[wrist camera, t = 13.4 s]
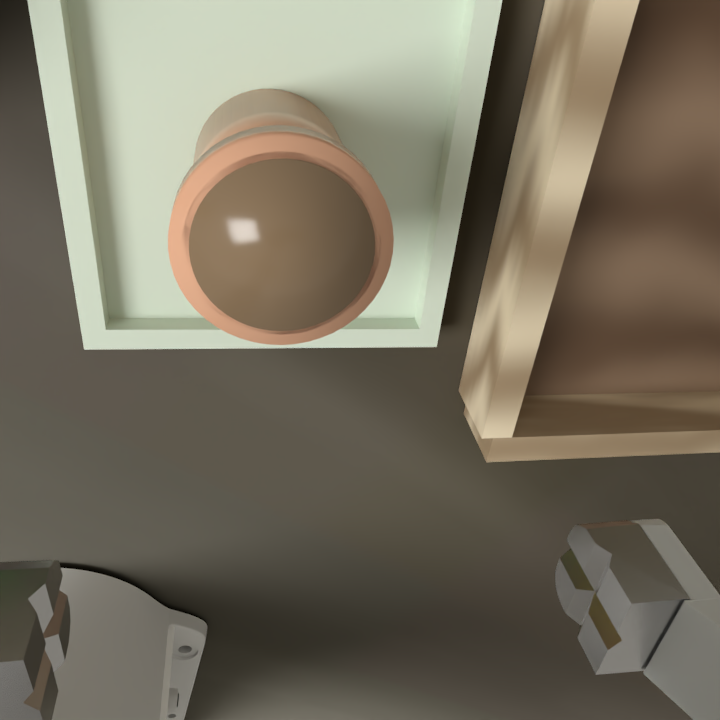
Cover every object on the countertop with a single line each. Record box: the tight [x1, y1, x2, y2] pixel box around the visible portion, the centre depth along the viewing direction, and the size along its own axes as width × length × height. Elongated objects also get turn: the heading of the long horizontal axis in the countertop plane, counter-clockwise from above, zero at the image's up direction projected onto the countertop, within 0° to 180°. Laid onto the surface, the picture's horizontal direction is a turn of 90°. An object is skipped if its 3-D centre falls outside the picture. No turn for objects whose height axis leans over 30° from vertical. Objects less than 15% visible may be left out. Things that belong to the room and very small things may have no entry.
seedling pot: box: [168, 89, 394, 345], centre depth 23 cm, size 7×7×8 cm
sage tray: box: [27, 0, 502, 350], centre depth 26 cm, size 16×16×2 cm
